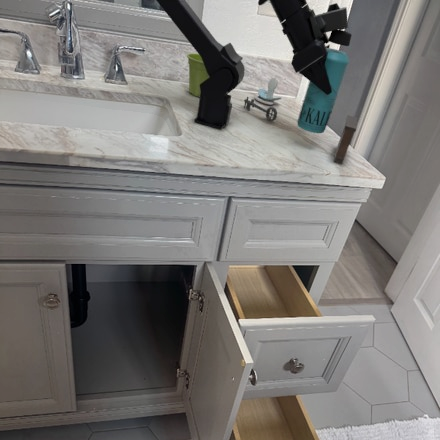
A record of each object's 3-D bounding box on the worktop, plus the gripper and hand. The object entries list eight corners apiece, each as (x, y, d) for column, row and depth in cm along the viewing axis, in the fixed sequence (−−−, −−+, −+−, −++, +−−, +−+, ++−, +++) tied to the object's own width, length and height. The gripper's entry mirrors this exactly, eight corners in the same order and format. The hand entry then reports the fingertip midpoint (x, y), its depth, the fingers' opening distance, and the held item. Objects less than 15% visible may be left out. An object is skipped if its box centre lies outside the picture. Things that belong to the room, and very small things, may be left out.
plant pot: (186, 86, 115) (190, 50, 109) (220, 94, 115) (226, 59, 110) (179, 94, 108) (183, 57, 102) (215, 103, 108) (221, 66, 102)
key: (276, 124, 103) (279, 110, 101) (273, 124, 103) (277, 110, 101) (244, 107, 110) (247, 93, 108) (242, 107, 109) (244, 93, 107)
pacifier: (266, 107, 114) (282, 106, 117) (272, 82, 110) (288, 81, 113) (249, 98, 118) (264, 97, 121) (253, 74, 114) (269, 73, 117)
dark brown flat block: (332, 162, 90) (345, 125, 85) (335, 149, 97) (347, 115, 92) (342, 164, 90) (356, 128, 85) (344, 151, 97) (357, 117, 92)
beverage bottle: (303, 127, 96) (334, 26, 83) (328, 138, 93) (364, 35, 81) (288, 131, 92) (319, 25, 79) (314, 142, 89) (350, 35, 76)
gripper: (332, -15, 69) (370, 75, 75) (334, -17, 83) (366, 59, 90) (273, 29, 74) (313, 109, 81) (284, 20, 89) (318, 89, 95)
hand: (330, 90), depth 86 cm, fingers closed on beverage bottle, 6 cm apart
